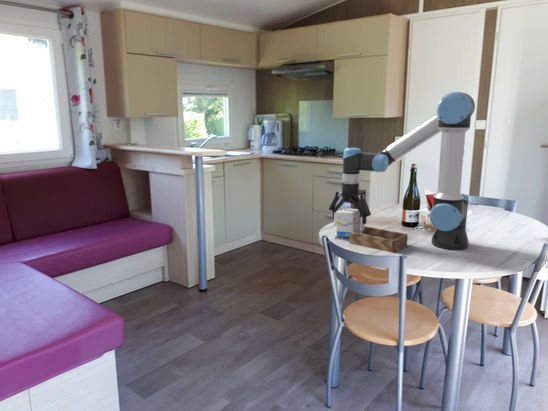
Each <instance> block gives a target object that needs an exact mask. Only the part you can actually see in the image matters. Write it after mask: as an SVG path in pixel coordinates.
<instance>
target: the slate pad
mask: <svg viewBox="0 0 548 411" xmlns="http://www.w3.org/2000/svg"><path fill="white" fill-rule="evenodd" d="M334 239H335V240H341V241H346V242H349V241H350V237H339V236H337V235H336V236H334Z"/></svg>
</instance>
